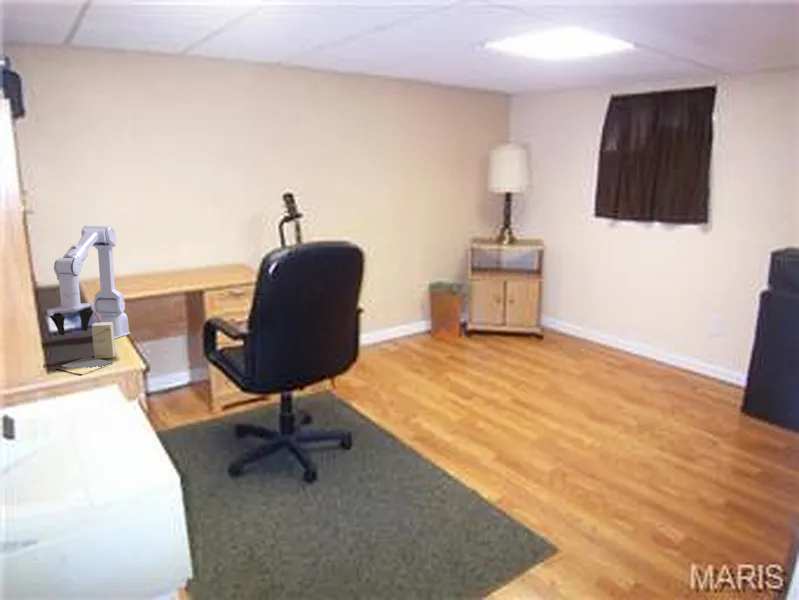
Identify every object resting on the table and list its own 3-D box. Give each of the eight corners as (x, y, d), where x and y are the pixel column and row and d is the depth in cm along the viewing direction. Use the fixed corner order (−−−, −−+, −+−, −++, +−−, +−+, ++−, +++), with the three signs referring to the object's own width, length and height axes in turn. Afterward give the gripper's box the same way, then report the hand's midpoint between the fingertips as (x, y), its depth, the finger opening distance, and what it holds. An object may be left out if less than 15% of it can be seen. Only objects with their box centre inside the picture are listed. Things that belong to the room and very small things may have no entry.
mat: (87, 358, 200) (87, 356, 200) (113, 363, 195) (112, 362, 195) (56, 369, 189) (55, 367, 189) (82, 375, 185) (82, 373, 184)
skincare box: (94, 359, 199) (90, 325, 196) (97, 355, 203) (93, 322, 200) (114, 357, 201) (110, 324, 198) (116, 353, 205) (112, 321, 202)
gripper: (53, 298, 183) (57, 339, 186) (97, 291, 195) (100, 330, 198) (42, 295, 187) (46, 335, 190) (86, 289, 199) (89, 326, 202)
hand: (73, 332), depth 194 cm, fingers open, 7 cm apart
